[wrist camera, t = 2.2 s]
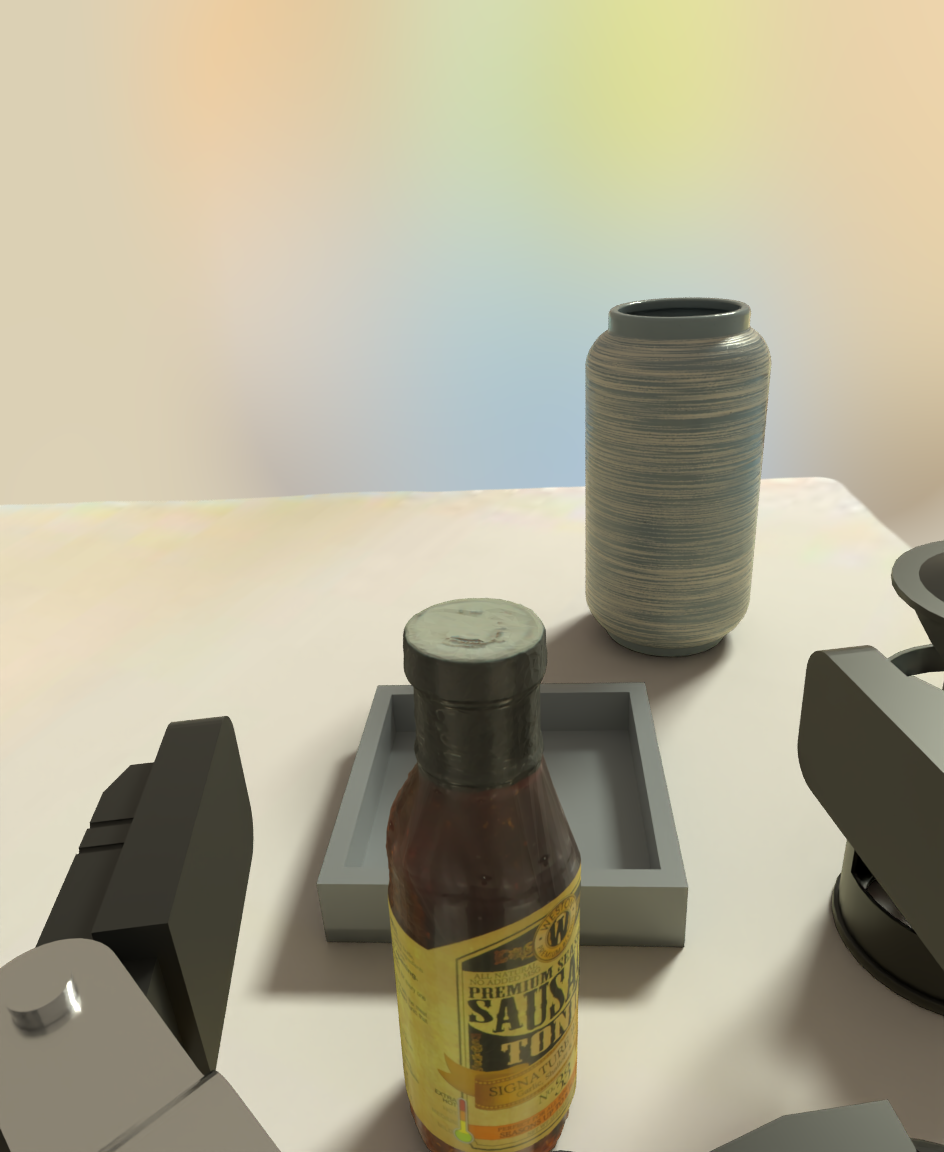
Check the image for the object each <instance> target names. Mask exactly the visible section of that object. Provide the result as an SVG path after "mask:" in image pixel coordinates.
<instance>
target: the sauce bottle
mask: <svg viewBox="0 0 944 1152" xmlns="http://www.w3.org/2000/svg"><path fill="white" fill-rule="evenodd" d="M403 651H404V672H405V675H406V677H407V679H408V681H409V682H410V684H411V685H412V686H413V688H414V703H415V708H414V717H415V721H416V730H415V732H416V739H415V744H414V751H415V756H416V759H417V763H416V764H415V766H414V767H413V769H412V770H411V771H410V772H409V773H408V778H407V780H406V781H405V782H404V784H403V786H402V788H401V789H400V790H399V791H398V793H397V796H396V798H395V800H394V801H393V804H392V806H391V809H390V814H389V819H388V824H387V831H386V850H387V857H388V868H389V884H388V905H389V914H390V926H391V937H392V947H393V957H394V968H395V979H396V990H397V1001H398V1013H399V1025H400V1036H401V1046H402V1056H403V1068H404V1076H405V1084H406V1089H407V1094H408V1097H409V1100H410V1108H411V1113H412V1115H413V1117H414V1120H415V1124H416V1125H417V1127H418V1130H419V1132H420V1134H421V1137H422V1139H423V1141H424V1143H425V1144H426V1145H427V1148H428V1149H429V1150H431V1151H432V1152H549V1151H550V1150H552V1149H553V1148H554V1147H555V1145H556V1142H557V1140H558V1139H559V1137H560V1135H561V1132H562V1130H563V1127H564V1124H565V1120H566V1119H567V1117H568V1113H569V1107H570V1104H571V1102H572V1099H573V1096H574V1093H575V1088H576V1075H577V1037H578V989H579V936H580V890H581V854H580V852H579V849H578V847H577V844H576V842H575V839H574V836H573V834H572V831H571V829H570V826H569V824H568V821H567V819H566V816H565V813H564V811H563V808H562V806H561V803H560V801H559V798H558V795H557V793H556V790H555V788H554V785H553V783H552V780H551V777H550V773H549V770H548V767H547V764H546V761H545V758H544V755H543V751H544V745H543V737H542V733H541V730H540V683H541V681H542V679H543V677H544V674H545V670H546V665H547V649H546V630H545V627H544V625H543V623H542V621H541V620H540V619H539V617H538V616H537V615H536V614H535V613H534V612H533V611H532V610H531V609H529V608H527V607H525V606H523V605H521V604H516V603H514V602H510V601H506V600H501V599H490V598H468V599H457V600H452V601H447V602H443V603H440V604H436V605H433V606H431V607H429V608H427V609H425V610H423V611H421V612H420V613H418V614H415V615H414V616H413V617H412V618H411V619H410V620H409V621H408V623H407V624H406V626H405V628H404V633H403Z"/></svg>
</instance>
